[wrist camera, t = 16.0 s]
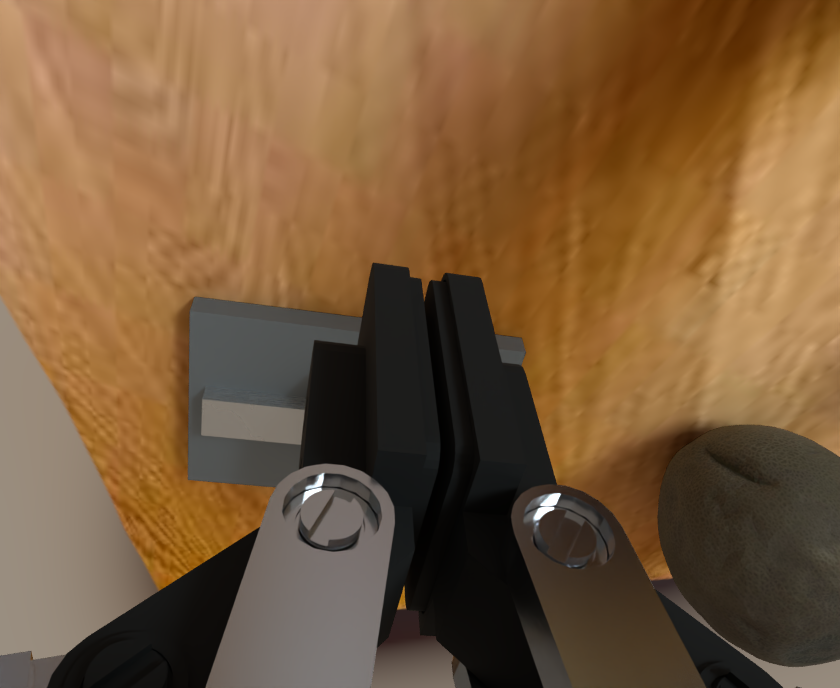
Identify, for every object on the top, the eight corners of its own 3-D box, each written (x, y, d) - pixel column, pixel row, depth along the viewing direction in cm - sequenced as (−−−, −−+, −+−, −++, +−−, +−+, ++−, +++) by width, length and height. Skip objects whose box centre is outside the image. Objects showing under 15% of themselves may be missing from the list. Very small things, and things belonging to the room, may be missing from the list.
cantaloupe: (607, 514, 56) (672, 706, 44) (665, 374, 48) (765, 563, 36) (775, 520, 58) (882, 706, 46) (859, 385, 50) (1017, 569, 38)
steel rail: (487, 416, 47) (490, 429, 46) (477, 449, 49) (479, 461, 48) (205, 386, 44) (202, 399, 43) (204, 422, 46) (201, 435, 45)
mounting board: (521, 337, 45) (525, 352, 44) (469, 488, 54) (472, 504, 52) (194, 296, 42) (189, 311, 41) (192, 463, 50) (187, 479, 49)
